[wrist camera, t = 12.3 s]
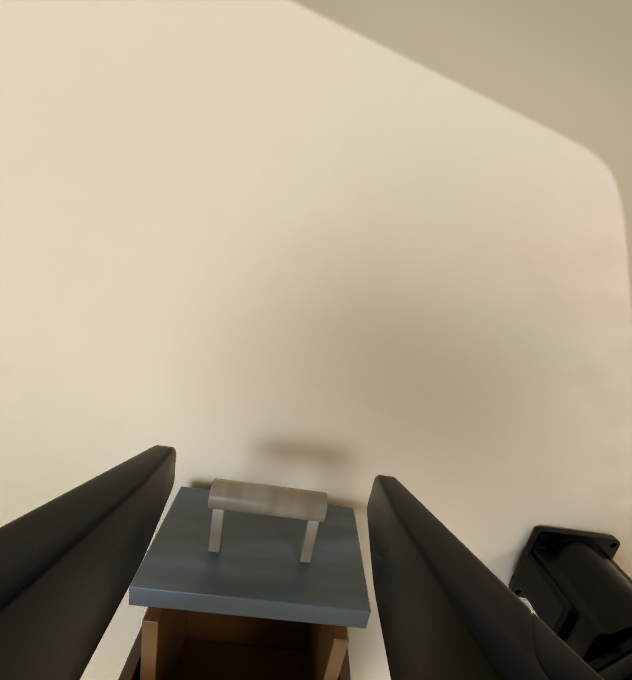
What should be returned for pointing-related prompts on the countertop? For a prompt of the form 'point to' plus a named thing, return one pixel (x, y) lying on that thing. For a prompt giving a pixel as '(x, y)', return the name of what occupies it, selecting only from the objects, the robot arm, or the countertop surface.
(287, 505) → the drawer
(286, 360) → the countertop surface
